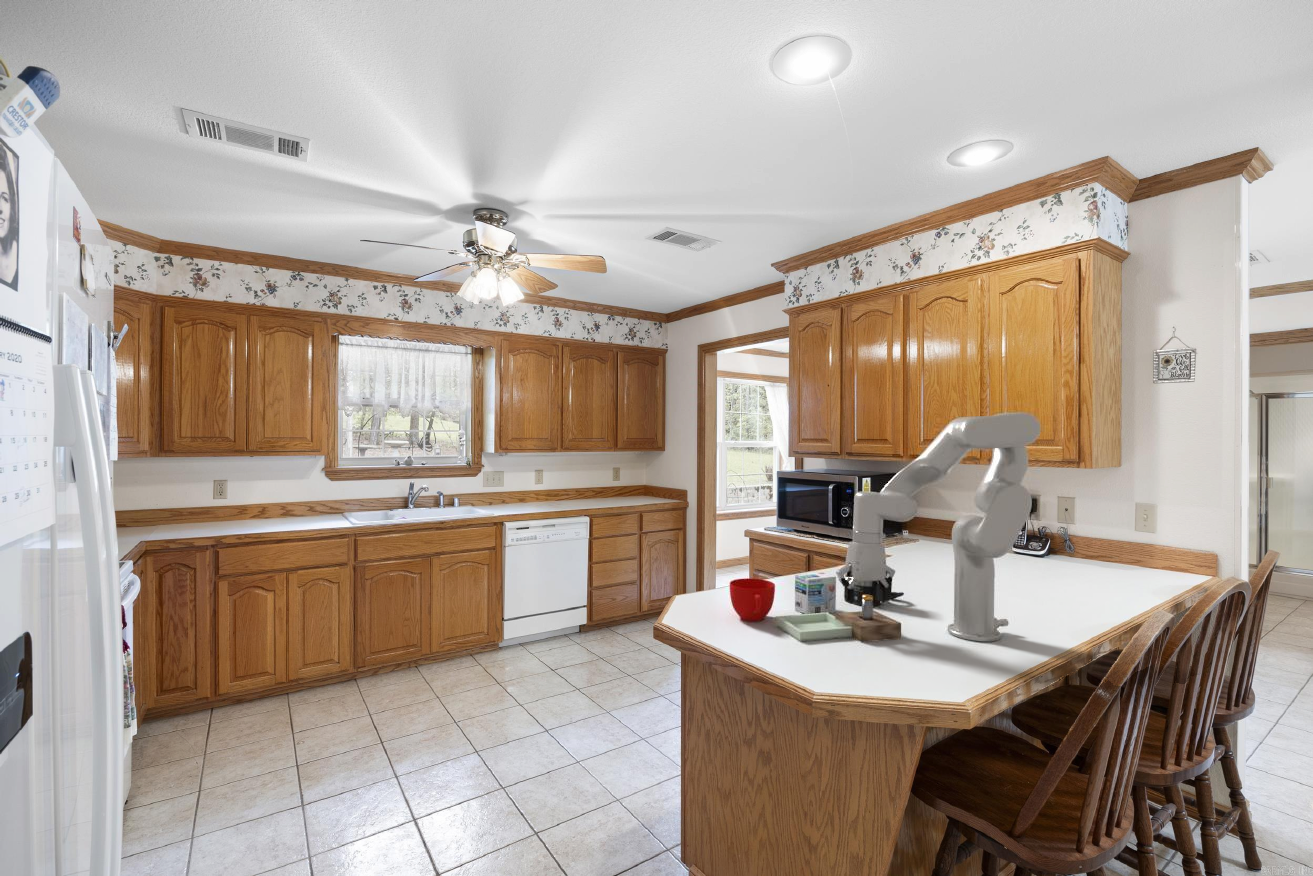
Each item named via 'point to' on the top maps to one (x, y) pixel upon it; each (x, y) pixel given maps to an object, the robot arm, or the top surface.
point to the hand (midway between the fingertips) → (864, 601)
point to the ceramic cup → (752, 598)
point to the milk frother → (872, 592)
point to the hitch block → (870, 626)
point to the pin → (867, 607)
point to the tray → (813, 626)
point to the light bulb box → (815, 593)
